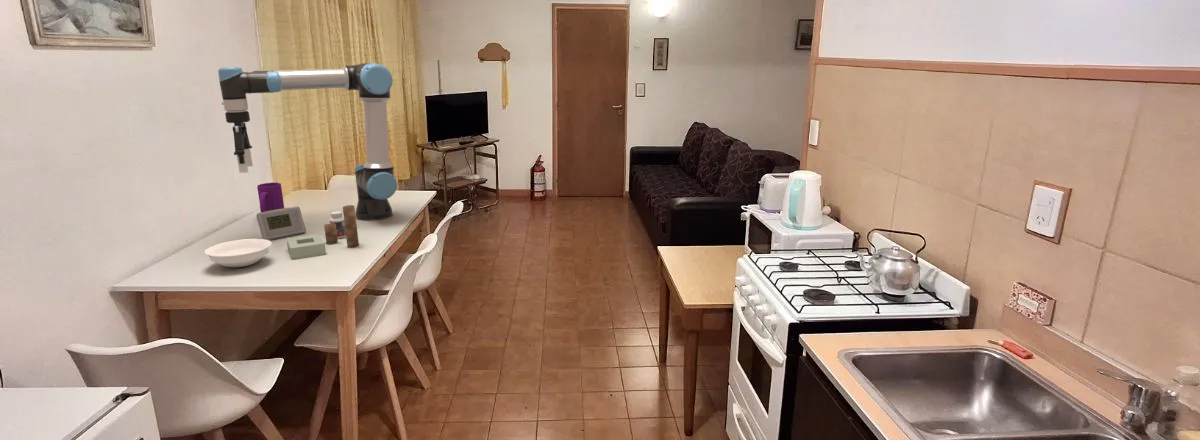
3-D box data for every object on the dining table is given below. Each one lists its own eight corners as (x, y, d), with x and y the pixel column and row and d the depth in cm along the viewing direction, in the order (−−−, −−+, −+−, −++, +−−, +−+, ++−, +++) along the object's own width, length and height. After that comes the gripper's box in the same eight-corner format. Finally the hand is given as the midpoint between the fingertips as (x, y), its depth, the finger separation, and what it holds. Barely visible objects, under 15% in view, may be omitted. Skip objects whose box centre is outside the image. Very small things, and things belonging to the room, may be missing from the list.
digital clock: (261, 242, 241) (257, 215, 238) (258, 237, 248) (254, 210, 245) (307, 235, 249) (304, 209, 246) (303, 230, 257) (300, 204, 254)
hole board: (320, 244, 237) (319, 234, 236) (326, 254, 225) (324, 243, 224) (288, 249, 232) (286, 238, 231) (291, 259, 220) (290, 248, 219)
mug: (288, 215, 280) (284, 182, 276) (276, 224, 265) (271, 189, 262) (266, 216, 279) (261, 182, 275) (253, 225, 264) (247, 190, 260)
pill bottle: (329, 239, 244) (326, 214, 241) (334, 235, 249) (331, 210, 247) (344, 238, 244) (341, 214, 242) (348, 234, 249) (346, 210, 247)
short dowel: (336, 240, 242) (334, 222, 240) (338, 243, 238) (336, 225, 237) (325, 242, 240) (323, 224, 238) (327, 244, 236) (324, 226, 235)
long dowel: (357, 243, 237) (353, 204, 233) (359, 246, 234) (355, 206, 230) (346, 245, 235) (341, 206, 231) (348, 248, 232) (343, 208, 228)
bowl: (203, 278, 203) (199, 259, 201) (211, 260, 220) (208, 242, 219) (272, 269, 210) (269, 251, 209) (275, 252, 228) (273, 235, 226)
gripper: (230, 108, 239) (239, 164, 244) (219, 114, 216) (229, 176, 222) (252, 107, 242) (261, 163, 247) (244, 113, 219) (254, 174, 225)
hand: (246, 169), depth 235 cm, fingers open, 13 cm apart
